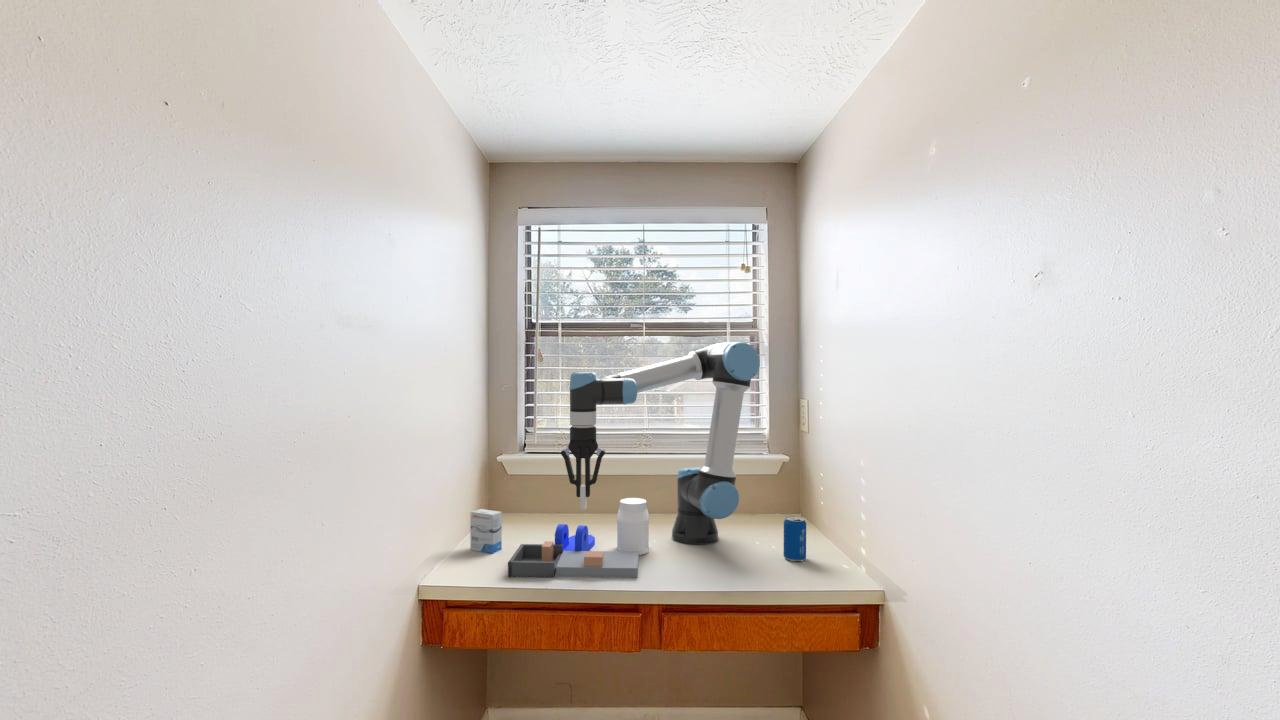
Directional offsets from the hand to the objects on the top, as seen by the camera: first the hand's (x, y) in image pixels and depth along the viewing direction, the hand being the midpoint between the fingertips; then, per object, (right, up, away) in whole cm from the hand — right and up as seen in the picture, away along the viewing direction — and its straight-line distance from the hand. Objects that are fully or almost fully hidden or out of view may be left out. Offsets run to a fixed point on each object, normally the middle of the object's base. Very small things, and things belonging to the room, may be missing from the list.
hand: (583, 508), depth 174 cm
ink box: (-31, -16, +12) cm, 37 cm away
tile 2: (+4, -13, -7) cm, 16 cm away
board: (+5, -16, -4) cm, 17 cm away
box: (-13, -16, -3) cm, 21 cm away
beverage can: (+62, -16, +5) cm, 64 cm away
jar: (+14, -16, +13) cm, 25 cm away
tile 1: (-9, -13, 0) cm, 16 cm away
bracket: (-3, -16, +13) cm, 21 cm away
